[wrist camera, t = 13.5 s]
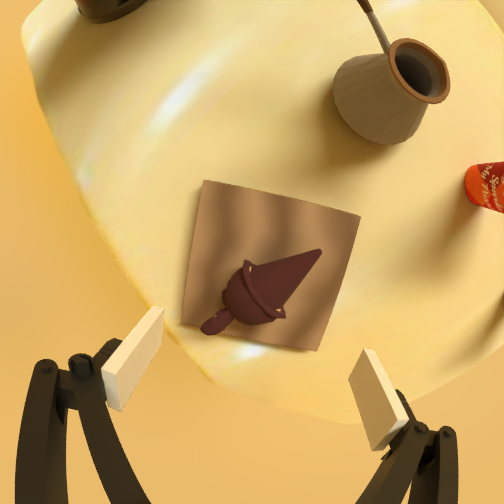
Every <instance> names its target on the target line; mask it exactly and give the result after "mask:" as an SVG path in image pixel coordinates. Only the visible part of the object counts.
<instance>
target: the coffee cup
mask: <svg viewBox="0 0 504 504" xmlns="http://www.w3.org/2000/svg"><path fill="white" fill-rule="evenodd" d="M465 190H466V194H467V196H468V198H469V199H470V201H471V202H472V203H474V204H476V205H479V206H482V207H485V208H488V209H491V210H494V211H497V212H501V213H504V162H495V163H485V164H477V165H473V166H471V167H470V168H469V169H468V170H467V173H466V176H465Z"/></svg>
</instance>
